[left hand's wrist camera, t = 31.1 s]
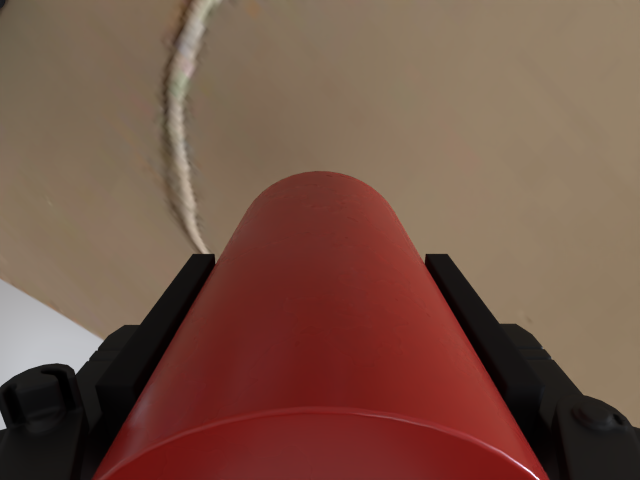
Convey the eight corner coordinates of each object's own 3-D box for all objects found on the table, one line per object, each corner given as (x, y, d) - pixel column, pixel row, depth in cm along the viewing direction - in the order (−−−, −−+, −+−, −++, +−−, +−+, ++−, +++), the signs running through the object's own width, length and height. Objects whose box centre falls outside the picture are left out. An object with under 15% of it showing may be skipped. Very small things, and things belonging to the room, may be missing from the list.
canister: (200, 244, 17) (-57, 590, 6) (331, 132, 16) (368, 286, 4) (310, 352, 19) (296, 772, 8) (437, 263, 18) (674, 628, 6)
